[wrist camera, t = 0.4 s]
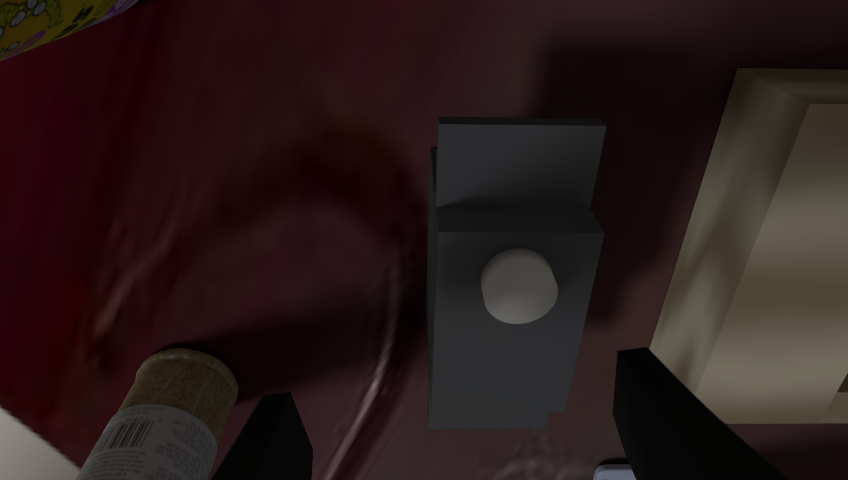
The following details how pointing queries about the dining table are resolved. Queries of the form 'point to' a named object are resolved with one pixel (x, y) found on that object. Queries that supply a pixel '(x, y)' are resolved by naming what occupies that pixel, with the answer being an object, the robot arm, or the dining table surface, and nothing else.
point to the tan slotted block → (767, 257)
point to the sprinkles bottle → (166, 421)
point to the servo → (509, 266)
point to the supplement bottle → (49, 20)
